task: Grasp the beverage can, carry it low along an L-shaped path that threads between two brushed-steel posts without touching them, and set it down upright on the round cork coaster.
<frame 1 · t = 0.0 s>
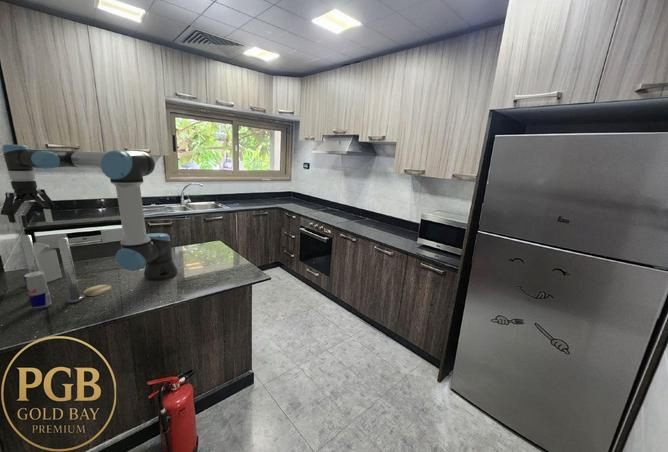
hand: (34, 225, 127), 28 cm above the worktop, fingers open, 13 cm apart
beverage can: (42, 307, 112), on the worktop
post 2: (76, 299, 118), on the worktop
post 1: (41, 297, 119), on the worktop
coaster: (97, 290, 126), on the worktop
milk carton: (48, 279, 134), on the worktop
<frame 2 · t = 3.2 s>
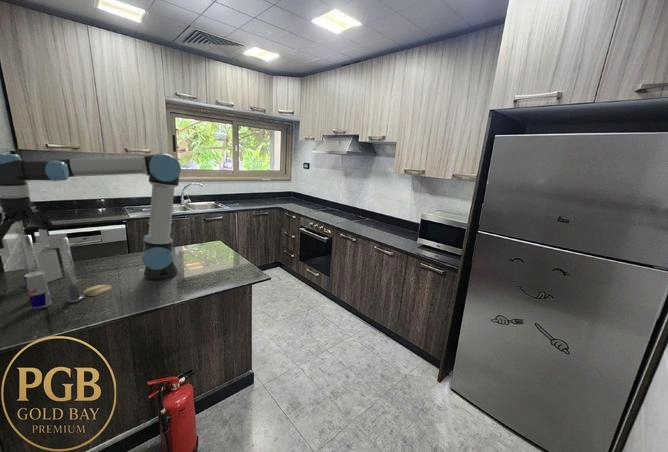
hand: (26, 250, 105), 25 cm above the worktop, fingers open, 13 cm apart
nothing on the worktop moved.
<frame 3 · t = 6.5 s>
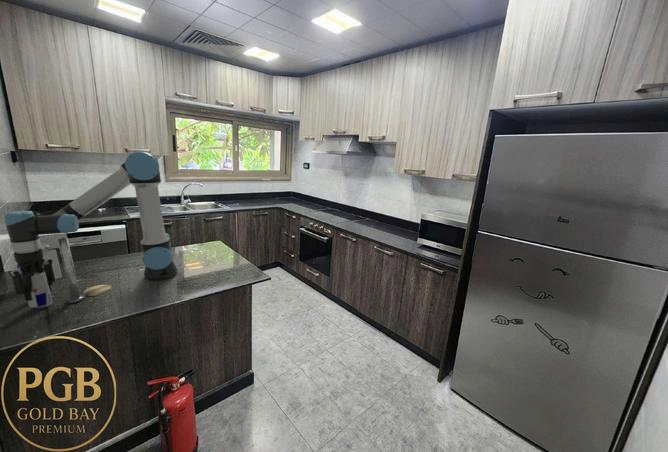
hand: (40, 302, 111), 2 cm above the worktop, fingers closed on beverage can, 5 cm apart
beverage can: (43, 306, 112), on the worktop, touching gripper
everything else where it was.
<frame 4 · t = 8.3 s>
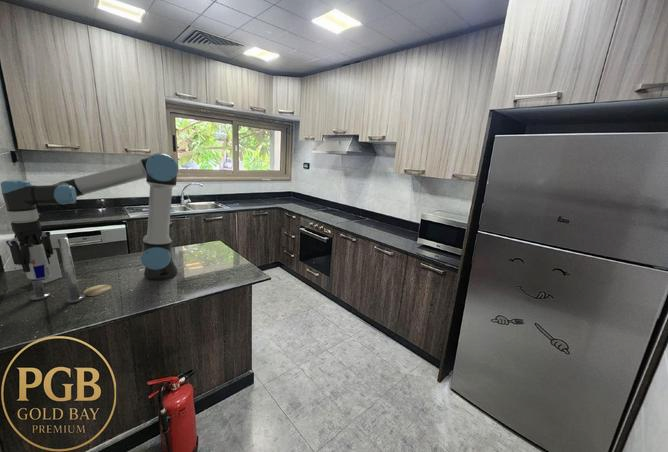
hand: (39, 275, 110), 13 cm above the worktop, fingers closed on beverage can, 5 cm apart
beverage can: (41, 279, 111), point 11 cm above the worktop, touching gripper
everything else where it was.
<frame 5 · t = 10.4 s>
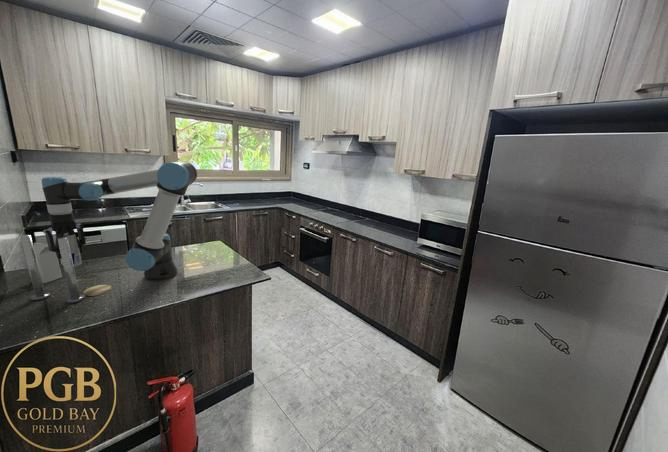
hand: (71, 262, 123), 14 cm above the worktop, fingers closed on beverage can, 5 cm apart
beverage can: (73, 266, 124), point 12 cm above the worktop, touching gripper
everything else where it was.
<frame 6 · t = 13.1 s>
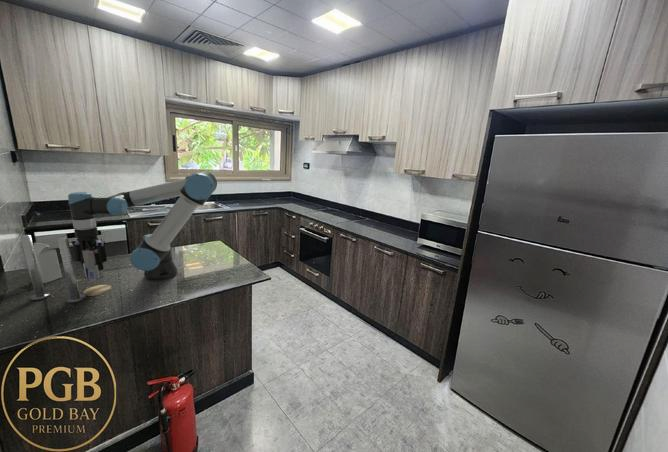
hand: (94, 275, 124), 8 cm above the worktop, fingers closed on beverage can, 5 cm apart
beverage can: (96, 279, 125), point 6 cm above the worktop, touching gripper
everything else where it was.
when the fingers open (4 cm above the worktop, at t = 14.5 s): beverage can drops 1 cm, resting on coaster.
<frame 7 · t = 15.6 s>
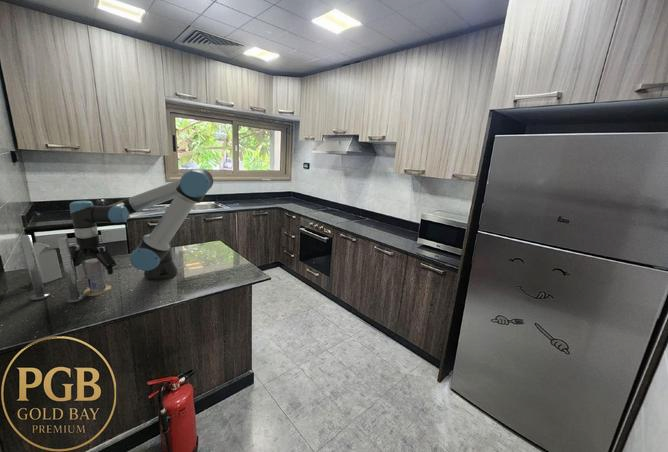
hand: (95, 279, 125), 6 cm above the worktop, fingers open, 13 cm apart
beverage can: (98, 290, 126), resting on coaster
everything else where it was.
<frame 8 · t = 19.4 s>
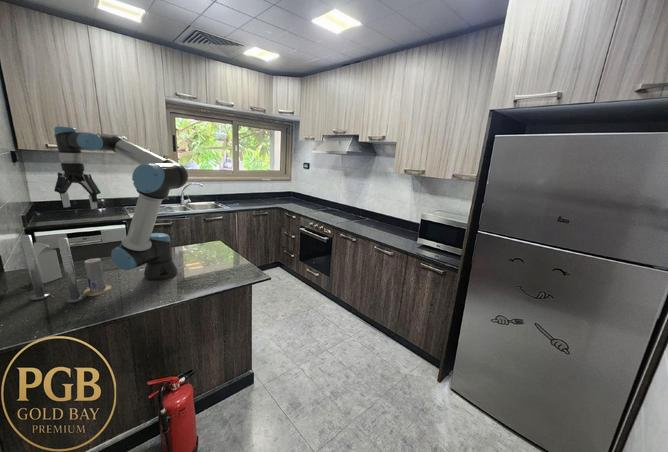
hand: (80, 207, 129), 37 cm above the worktop, fingers open, 13 cm apart
nothing on the worktop moved.
at the end: beverage can 0.5 cm from the coaster (horizontally); beverage can tilted 0°; beverage can touching coaster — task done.
